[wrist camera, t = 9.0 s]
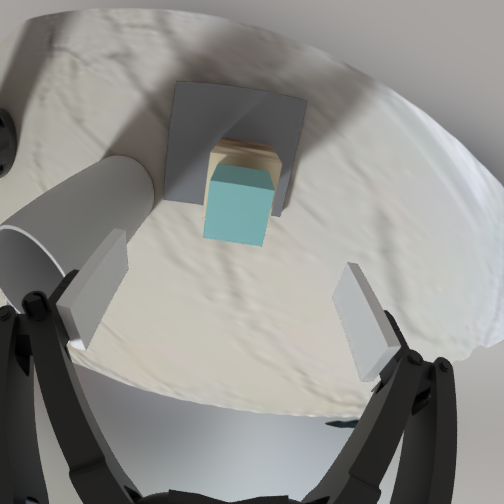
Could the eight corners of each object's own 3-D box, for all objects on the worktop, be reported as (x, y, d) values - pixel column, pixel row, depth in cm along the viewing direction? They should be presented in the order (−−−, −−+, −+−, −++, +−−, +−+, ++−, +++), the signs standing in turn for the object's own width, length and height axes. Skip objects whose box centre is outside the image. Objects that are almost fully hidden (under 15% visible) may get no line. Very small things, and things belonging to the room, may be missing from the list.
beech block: (209, 198, 33) (202, 217, 28) (216, 143, 30) (210, 152, 24) (264, 206, 34) (267, 227, 29) (276, 153, 30) (282, 164, 25)
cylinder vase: (145, 235, 44) (81, 349, 23) (85, 211, 41) (-2, 302, 20) (165, 168, 38) (78, 257, 17) (98, 145, 35) (-19, 207, 14)
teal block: (211, 210, 28) (202, 237, 22) (217, 163, 25) (209, 180, 20) (259, 217, 28) (261, 246, 23) (268, 171, 26) (274, 190, 20)
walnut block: (214, 184, 38) (209, 198, 33) (221, 137, 35) (216, 143, 30) (262, 191, 39) (264, 206, 34) (271, 145, 35) (275, 153, 30)
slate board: (166, 196, 40) (163, 199, 39) (179, 81, 31) (176, 80, 30) (279, 213, 42) (280, 216, 41) (305, 100, 33) (307, 100, 32)
